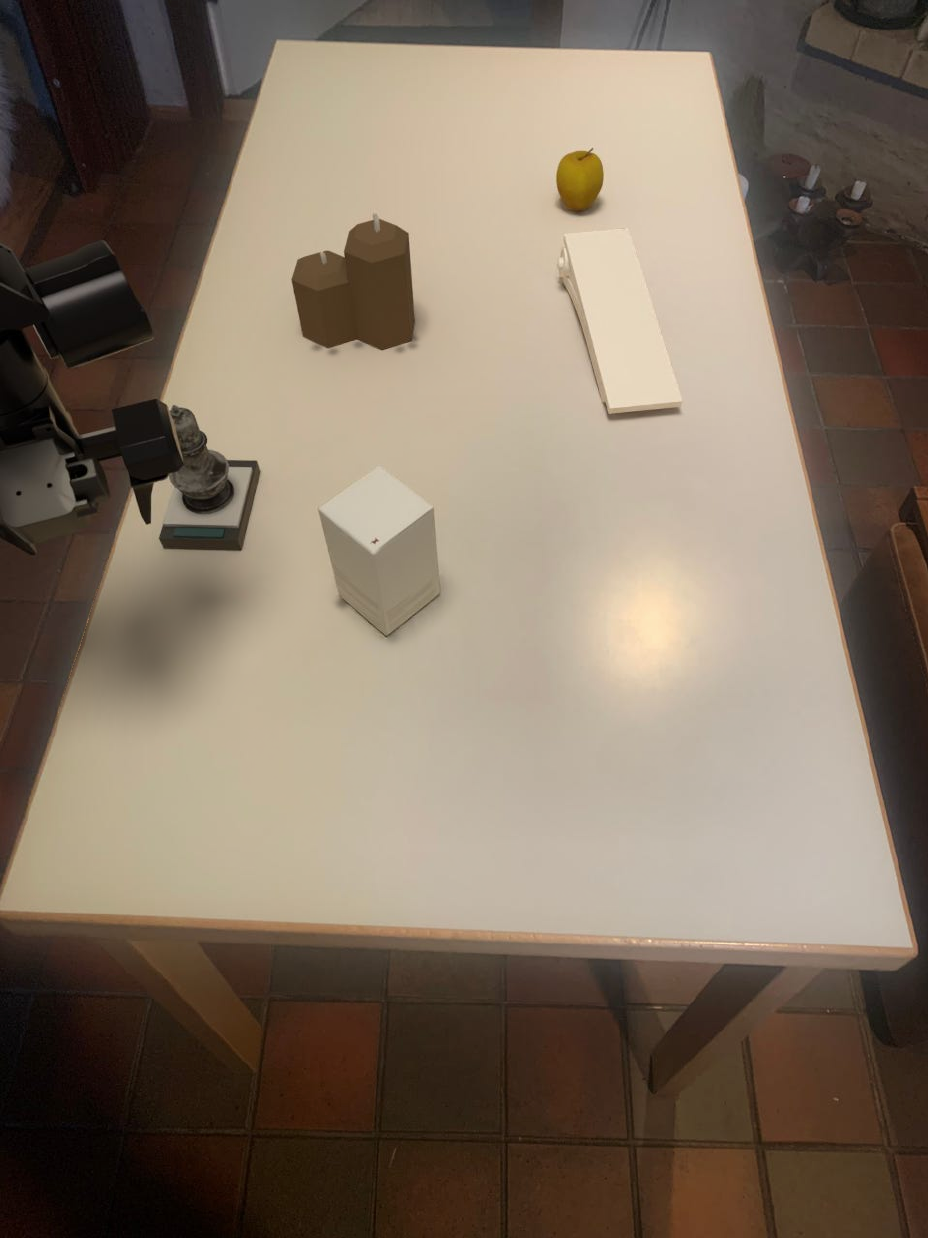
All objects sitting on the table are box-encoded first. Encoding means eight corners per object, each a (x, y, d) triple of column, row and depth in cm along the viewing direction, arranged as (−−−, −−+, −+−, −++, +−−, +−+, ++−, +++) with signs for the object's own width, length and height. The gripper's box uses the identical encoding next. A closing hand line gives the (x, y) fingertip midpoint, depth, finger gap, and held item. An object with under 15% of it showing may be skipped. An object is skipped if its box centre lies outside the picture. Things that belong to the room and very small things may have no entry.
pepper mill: (171, 486, 87) (132, 397, 77) (225, 465, 89) (193, 375, 79) (190, 524, 84) (152, 436, 74) (245, 502, 86) (215, 413, 76)
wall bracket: (666, 443, 100) (617, 276, 112) (695, 402, 94) (640, 229, 106) (588, 438, 97) (547, 267, 109) (614, 395, 91) (567, 219, 103)
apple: (608, 205, 119) (616, 147, 112) (580, 224, 116) (586, 166, 110) (573, 188, 121) (579, 131, 115) (545, 206, 119) (549, 149, 112)
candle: (443, 310, 106) (439, 194, 94) (377, 371, 100) (363, 255, 87) (358, 275, 110) (343, 159, 98) (290, 330, 104) (265, 215, 92)
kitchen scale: (241, 550, 85) (236, 537, 83) (163, 548, 85) (156, 535, 83) (260, 470, 91) (256, 456, 89) (187, 469, 91) (181, 455, 90)
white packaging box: (442, 593, 82) (437, 507, 71) (385, 639, 79) (371, 555, 68) (392, 551, 85) (380, 462, 74) (335, 593, 82) (314, 507, 71)
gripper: (-151, 509, 50) (-23, 647, 63) (161, 431, 54) (222, 577, 67) (-144, 391, 56) (-28, 539, 69) (137, 328, 60) (197, 480, 73)
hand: (91, 535), depth 69 cm, fingers open, 9 cm apart
